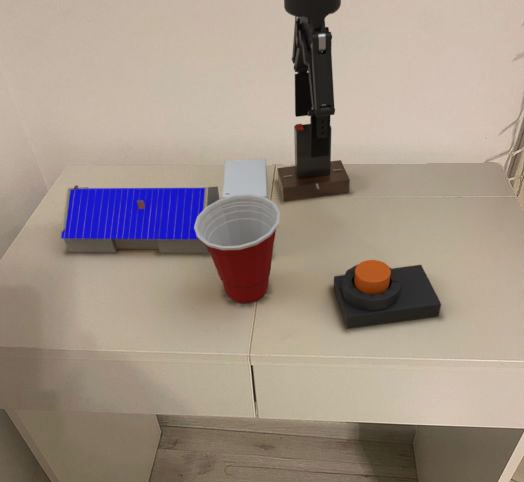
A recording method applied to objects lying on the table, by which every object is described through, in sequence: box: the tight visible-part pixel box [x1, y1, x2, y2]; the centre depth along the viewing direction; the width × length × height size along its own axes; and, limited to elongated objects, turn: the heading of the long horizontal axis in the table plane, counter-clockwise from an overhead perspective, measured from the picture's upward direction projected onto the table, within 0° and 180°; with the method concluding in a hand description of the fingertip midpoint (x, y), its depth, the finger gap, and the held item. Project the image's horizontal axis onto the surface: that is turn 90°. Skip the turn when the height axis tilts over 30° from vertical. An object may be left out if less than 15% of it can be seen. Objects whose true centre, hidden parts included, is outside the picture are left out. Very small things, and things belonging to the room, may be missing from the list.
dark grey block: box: [293, 123, 332, 179], centre depth 89 cm, size 6×2×8 cm, turn 97°
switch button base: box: [333, 264, 442, 329], centre depth 72 cm, size 12×8×4 cm, turn 97°
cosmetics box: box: [221, 157, 270, 200], centre depth 81 cm, size 10×6×10 cm, turn 0°
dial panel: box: [276, 159, 351, 202], centre depth 92 cm, size 11×10×3 cm
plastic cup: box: [194, 194, 281, 304], centre depth 72 cm, size 11×11×12 cm
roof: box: [60, 185, 221, 254], centre depth 86 cm, size 22×14×7 cm, turn 84°
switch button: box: [354, 259, 391, 294], centre depth 70 cm, size 4×4×2 cm
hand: (311, 134), depth 87 cm, fingers open, 13 cm apart
